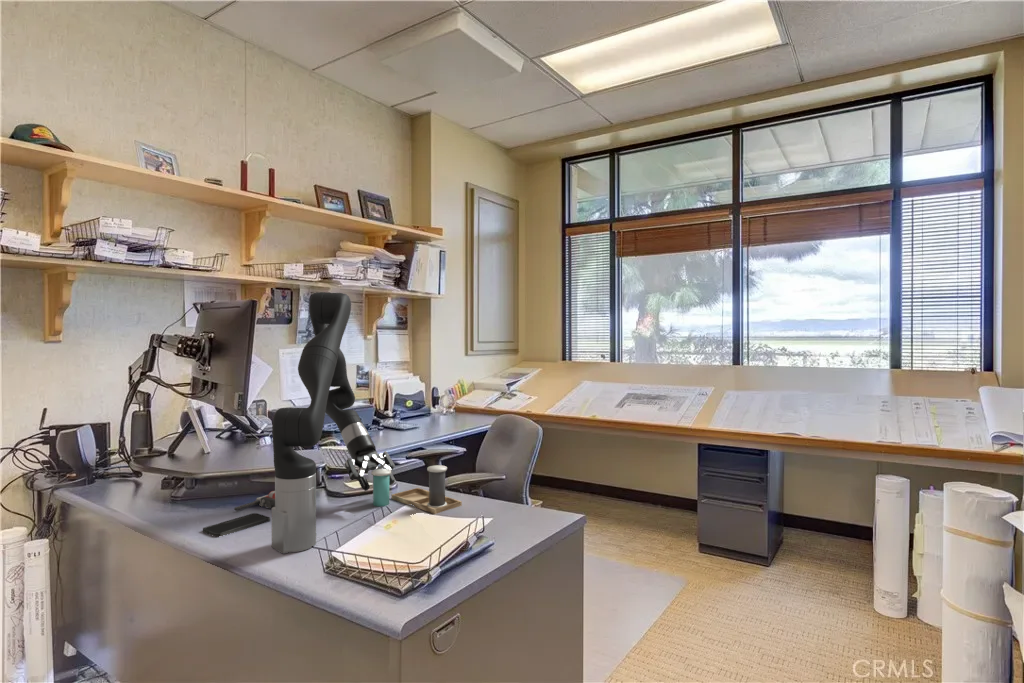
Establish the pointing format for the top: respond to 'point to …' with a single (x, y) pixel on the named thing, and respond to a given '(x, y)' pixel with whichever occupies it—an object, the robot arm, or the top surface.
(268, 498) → the red grey long piece
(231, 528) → the phone
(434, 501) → the black spool
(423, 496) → the tray
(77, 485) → the top surface
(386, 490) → the teal spool
